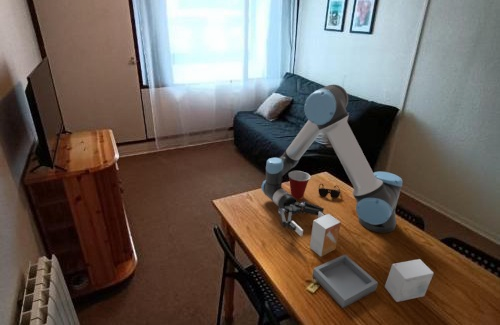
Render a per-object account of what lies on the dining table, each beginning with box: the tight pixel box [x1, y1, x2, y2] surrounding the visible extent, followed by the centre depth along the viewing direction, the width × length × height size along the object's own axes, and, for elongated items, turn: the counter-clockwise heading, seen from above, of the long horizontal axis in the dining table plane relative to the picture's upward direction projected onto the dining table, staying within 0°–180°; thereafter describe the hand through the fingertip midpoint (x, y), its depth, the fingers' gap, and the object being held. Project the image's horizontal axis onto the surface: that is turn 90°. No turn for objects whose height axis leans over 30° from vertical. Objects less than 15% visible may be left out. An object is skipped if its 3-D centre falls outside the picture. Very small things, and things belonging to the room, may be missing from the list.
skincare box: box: [384, 258, 434, 303], centre depth 94 cm, size 10×6×10 cm, turn 103°
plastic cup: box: [287, 170, 312, 200], centre depth 145 cm, size 11×11×12 cm
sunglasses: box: [318, 183, 341, 199], centre depth 151 cm, size 11×12×5 cm
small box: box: [309, 213, 341, 258], centre depth 111 cm, size 8×6×13 cm
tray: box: [312, 254, 379, 309], centre depth 99 cm, size 14×14×4 cm
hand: (316, 228), depth 115 cm, fingers open, 13 cm apart
